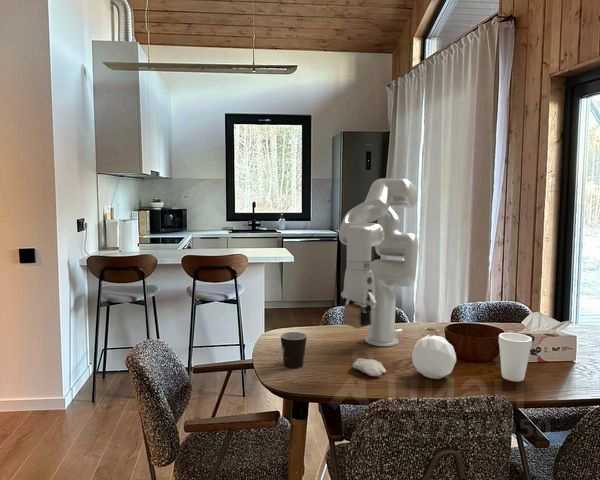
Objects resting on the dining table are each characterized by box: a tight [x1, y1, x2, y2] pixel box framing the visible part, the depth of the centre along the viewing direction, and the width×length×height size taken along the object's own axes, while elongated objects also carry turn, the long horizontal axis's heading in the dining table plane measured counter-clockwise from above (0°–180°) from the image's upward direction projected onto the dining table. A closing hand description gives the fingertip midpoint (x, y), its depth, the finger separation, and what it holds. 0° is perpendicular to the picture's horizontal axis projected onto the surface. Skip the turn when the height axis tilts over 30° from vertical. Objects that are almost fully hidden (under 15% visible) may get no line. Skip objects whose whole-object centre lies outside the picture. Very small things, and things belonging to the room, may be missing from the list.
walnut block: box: [343, 302, 372, 329], centre depth 156 cm, size 6×6×6 cm
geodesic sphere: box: [411, 333, 457, 380], centre depth 155 cm, size 14×14×14 cm
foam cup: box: [497, 332, 533, 382], centre depth 155 cm, size 10×9×13 cm
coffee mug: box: [280, 331, 308, 370], centre depth 166 cm, size 12×9×10 cm
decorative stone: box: [352, 357, 387, 377], centre depth 161 cm, size 11×4×15 cm
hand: (357, 321), depth 156 cm, fingers closed on walnut block, 6 cm apart
